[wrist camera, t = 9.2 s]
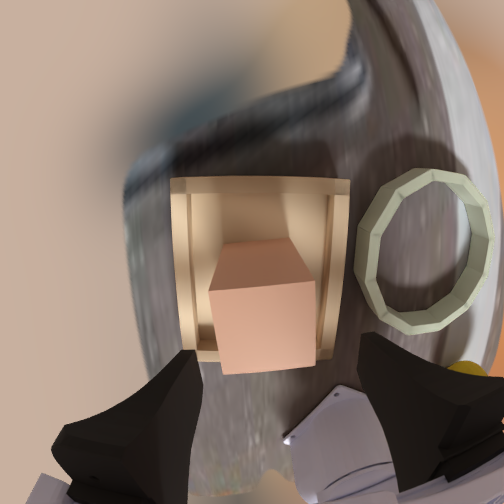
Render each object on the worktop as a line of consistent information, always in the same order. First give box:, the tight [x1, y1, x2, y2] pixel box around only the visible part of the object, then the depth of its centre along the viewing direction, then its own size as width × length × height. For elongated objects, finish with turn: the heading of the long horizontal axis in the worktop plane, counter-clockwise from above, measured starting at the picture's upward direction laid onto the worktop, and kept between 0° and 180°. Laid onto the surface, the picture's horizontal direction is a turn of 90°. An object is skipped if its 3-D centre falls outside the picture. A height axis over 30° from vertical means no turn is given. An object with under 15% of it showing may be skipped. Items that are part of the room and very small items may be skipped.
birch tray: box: [170, 176, 350, 362], centre depth 20 cm, size 13×11×2 cm
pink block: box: [208, 238, 316, 374], centre depth 16 cm, size 4×4×8 cm
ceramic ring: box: [353, 168, 495, 335], centre depth 20 cm, size 13×13×2 cm
